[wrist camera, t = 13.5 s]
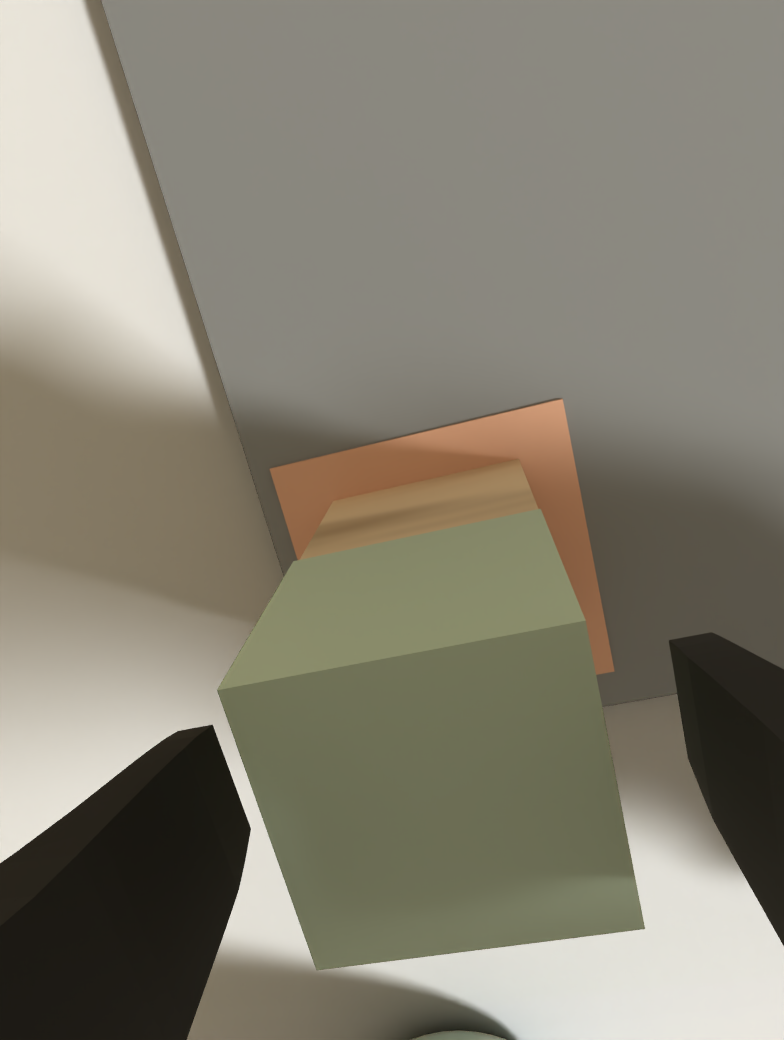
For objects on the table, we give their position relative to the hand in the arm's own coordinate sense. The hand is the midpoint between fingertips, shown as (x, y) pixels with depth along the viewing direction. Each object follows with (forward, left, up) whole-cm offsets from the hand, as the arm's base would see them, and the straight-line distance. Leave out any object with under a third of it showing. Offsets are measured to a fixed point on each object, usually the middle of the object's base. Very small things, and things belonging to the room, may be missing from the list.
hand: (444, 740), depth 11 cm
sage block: (0, 0, -2) cm, 3 cm away
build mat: (+7, -2, -8) cm, 10 cm away
